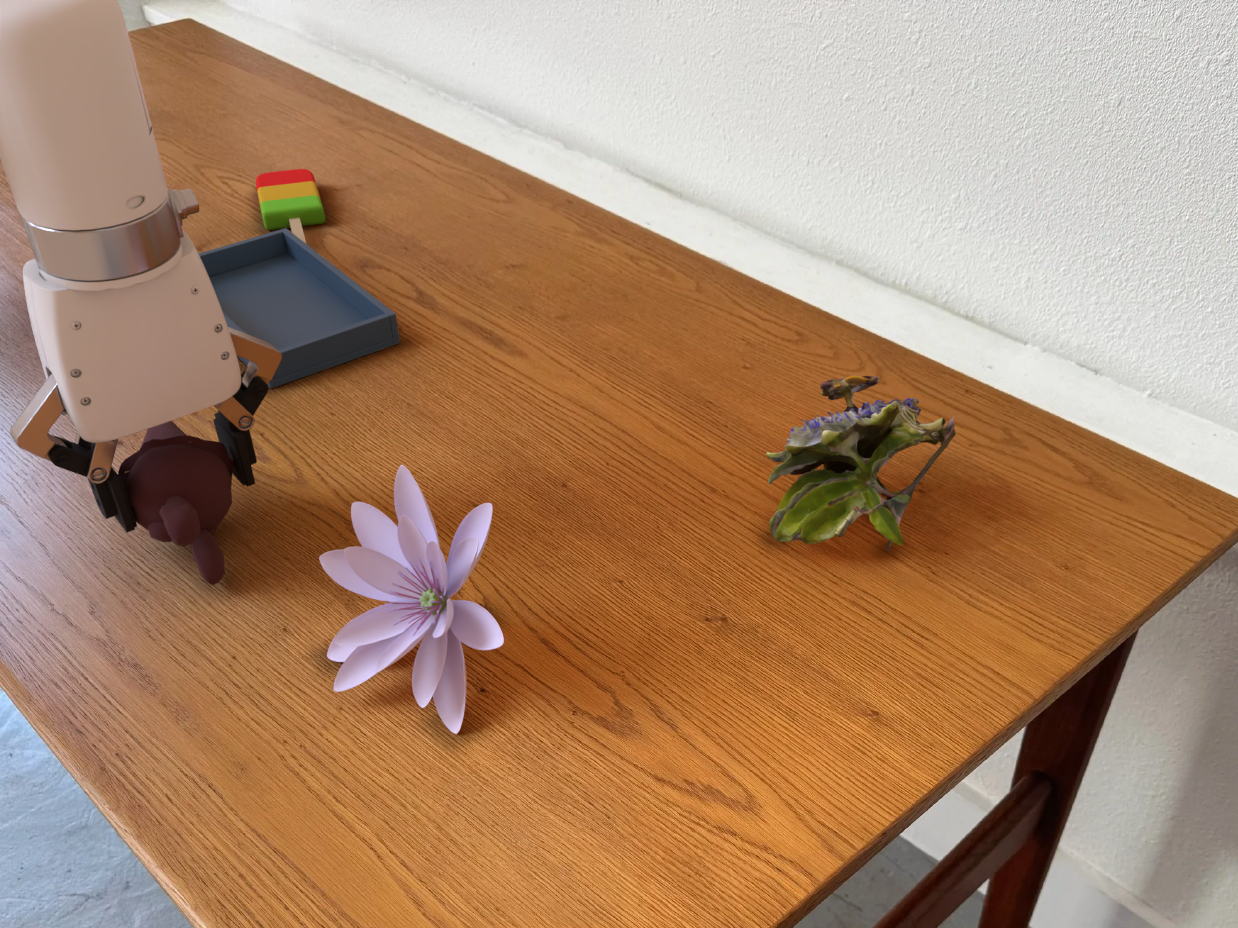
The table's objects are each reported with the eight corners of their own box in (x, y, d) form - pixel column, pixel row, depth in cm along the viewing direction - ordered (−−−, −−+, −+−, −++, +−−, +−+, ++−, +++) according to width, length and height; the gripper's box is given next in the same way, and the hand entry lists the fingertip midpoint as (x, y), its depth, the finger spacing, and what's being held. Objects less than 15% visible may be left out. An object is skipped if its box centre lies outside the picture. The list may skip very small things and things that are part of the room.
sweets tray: (270, 389, 93) (263, 358, 91) (170, 292, 104) (162, 263, 102) (400, 343, 98) (396, 313, 96) (291, 255, 109) (286, 227, 107)
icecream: (76, 396, 79) (109, 550, 70) (184, 351, 80) (230, 497, 71) (131, 470, 85) (168, 621, 76) (232, 427, 85) (280, 572, 76)
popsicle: (315, 184, 120) (311, 165, 119) (334, 252, 110) (330, 232, 108) (257, 191, 119) (253, 172, 117) (271, 261, 108) (266, 240, 107)
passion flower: (825, 546, 88) (906, 392, 85) (923, 612, 80) (1017, 445, 77) (710, 503, 81) (793, 334, 78) (804, 571, 73) (902, 385, 70)
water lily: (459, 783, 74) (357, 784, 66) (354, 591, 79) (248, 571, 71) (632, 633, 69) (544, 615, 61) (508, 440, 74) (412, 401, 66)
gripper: (226, 170, 72) (282, 425, 85) (-86, 250, 64) (25, 518, 77) (284, 217, 68) (334, 477, 80) (-43, 308, 60) (68, 581, 72)
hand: (182, 495), depth 78 cm, fingers closed on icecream, 7 cm apart
